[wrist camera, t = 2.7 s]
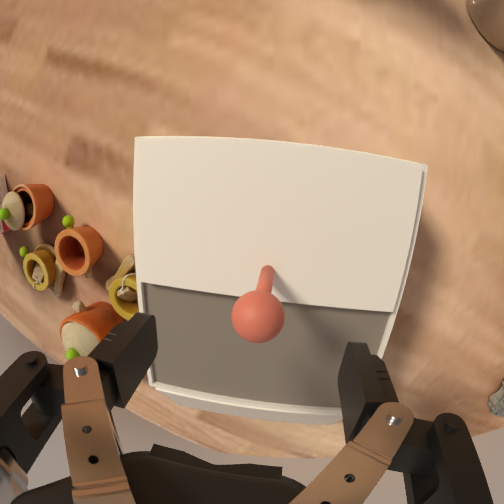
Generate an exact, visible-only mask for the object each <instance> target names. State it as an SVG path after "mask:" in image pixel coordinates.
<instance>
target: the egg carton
mask: <svg viewBox="0 0 504 504" xmlns="http://www.w3.org/2000/svg"><path fill="white" fill-rule="evenodd" d="M489 399H490V400H489V403H488V405H489V407H490V408H491V410H492V413H490V414H491V415H492V414H494V415H496V416H501V417H504V381H503V382H502V386H501V388H500V389H499V390H498V391H497V392H496V393H494V394H492V395H491V396H490V397H489Z"/></svg>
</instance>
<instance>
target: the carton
mask: <svg viewBox="0 0 504 504" xmlns="http://www.w3.org/2000/svg"><path fill="white" fill-rule="evenodd" d="M139 139H211V140H234V141H250V142H264V143H275V144H286V145H296V146H304V147H313V148H321V149H328V150H335V151H342V152H349V153H355V154H361V155H367V156H373V157H378V158H384V159H389V160H394V161H399V162H404V163H409V164H413V165H418V166H422V167H423V169H422V177H421V185H420V192H419V199H418V205H417V211H416V217H415V222H414V228H413V233H412V238H411V243H410V247H409V252H408V256H407V261H406V265H405V269H404V273H403V277H402V281H401V285H400V289H399V293H398V296H397V300H396V303H395V307H394V310H393V312H385V311H372V310H360V309H348V308H337V307H327V306H317V305H307V304H298V303H289V302H281V304H282V306H283V308H284V312H285V321H284V325H283V328H282V329H281V331H280V333H279V334H278V335H277V336H276V337H275V338H273V339H272V340H270V341H267V342H264V343H252V342H249V341H246V340H245V339H243V338H241V337H240V336H239V335H238V334H237V332H236V331H235V329H234V327H233V324H232V320H231V314H232V309H233V306H234V304H235V302H236V301H237V300H238V299H239V298H240V297H239V296H232V295H224V294H217V293H210V292H203V291H196V290H189V289H183V288H176V287H170V286H163V285H157V284H151V283H145V282H140V273H139V255H138V225H137V179H138V150H139ZM427 167H428V165H425V164H421V163H416V162H412V161H407V160H403V159H398V158H393V157H388V156H383V155H377V154H372V153H366V152H360V151H354V150H348V149H341V148H334V147H327V146H320V145H312V144H303V143H294V142H284V141H273V140H261V139H247V138H229V137H202V136H147V137H135V149H134V179H133V219H134V250H135V268H136V283H137V295H138V306H139V312H141V313H146V314H151V315H154V316H155V319H156V329H157V340H158V351H157V355H156V358H155V360H154V361H153V363H152V364H151V366H150V368H149V369H148V371H147V375H148V381H149V386H153V387H156V388H155V390H157V391H158V392H160V393H161V394H163V395H164V396H166V397H167V398H169V399H171V400H172V401H174V402H175V403H177V404H179V405H181V406H186V407H190V408H195V409H200V410H205V411H210V412H215V413H221V414H227V415H233V416H239V417H246V418H253V419H261V420H269V421H278V422H289V423H301V424H317V425H329V424H332V423H335V422H338V421H341V420H343V418H342V411H341V404H340V397H339V390H338V372H339V369H340V365H341V362H342V359H343V356H344V352H345V349H346V345H347V343H348V342H349V341H351V342H366V343H367V345H368V348H369V350H370V353H371V355H378V356H379V358H380V359H381V360H382V357H383V354H384V351H385V348H386V346H387V343H388V340H389V337H390V334H391V331H392V328H393V325H394V321H395V318H396V315H397V312H398V308H399V305H400V302H401V298H402V295H403V291H404V287H405V283H406V280H407V276H408V272H409V268H410V264H411V259H412V255H413V250H414V246H415V241H416V236H417V231H418V226H419V221H420V215H421V209H422V203H423V197H424V190H425V183H426V175H427Z"/></svg>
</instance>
